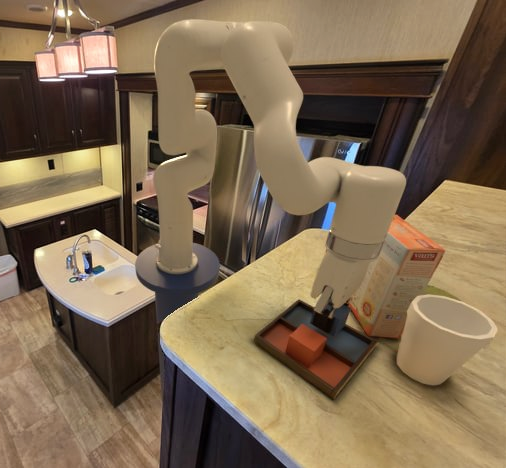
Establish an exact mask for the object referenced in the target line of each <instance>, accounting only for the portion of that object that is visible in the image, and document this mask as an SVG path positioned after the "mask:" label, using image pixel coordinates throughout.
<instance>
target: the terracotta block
mask: <svg viewBox="0 0 506 468" xmlns="http://www.w3.org/2000/svg"><path fill="white" fill-rule="evenodd" d="M326 340H327V338H326V337H324V336H322V335H320V334H319V333H317V332H315V331H314V330H312V329H310V328H309V327H307V326H305V325H303V324H302V325H301V326H300V327H299V328H297V329H296V330H295V331H294V332H293V333H292V334H291V335H290V336H289V340H288V343H287V347H286V351H285V352H286V353H287V354H289V355H290V356H292V357H293V358H295V359H296V360H298V361H299V362H300V363H302V364H303V365H305V366H306V367H308V368H310V367H311V366H312V364H313V363H314V362H315V361H316V360H317V359H318V358H319V357H320V356H321V355H322V352H323V349H324V346H325V343H326Z"/></svg>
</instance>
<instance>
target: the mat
mask: <svg viewBox="0 0 506 468" xmlns="http://www.w3.org/2000/svg"><path fill="white" fill-rule="evenodd" d="M427 294H430V295H438V296H445V297H448V298H452V299H455V300H458V301H461V299H460V298H459V297H457V296H456V295H453V294H452V293H450V292H448V291H446V290H444V289H442V288H439V287H436V286H434V285H430V284H428V285H427V287H426V289H425V291H424V293H423V295H427Z"/></svg>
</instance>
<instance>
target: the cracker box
mask: <svg viewBox="0 0 506 468" xmlns="http://www.w3.org/2000/svg"><path fill="white" fill-rule="evenodd" d="M446 251H447V250H446V249H445V248H443V247H442V246H441V245H440V244H438V243H436V242H435V241H434V240H432V239H431V238H429V236H427V235H426V234H424V233H423V232H421V231H420V230H418V229H417V228H416V227H414V226H413V225H411V224H410V223H409V222H407V221H406V220H405V219H403V218H402V217H400V216H399V215H398V214H395V215H394V218H393V220H392V223H391V225H390V228H389V231H388V233H387V236H386V239H385V241H384V244H383V247H382V249H381V252H380V254H379V257H378V258H377V259H376V260H375V261H371V262H370V263H369V266H368V269H367V272H366V274H365V277H364V280H363V282H362V284H361V286H360V288H359V289H358V290H357V291H356V292H355V293H354V294H353V295H352V296H351V299H350V301H349V303H347V302H346V303H347V304H349V305H348V307H349V308H351V310H350V311H352V313H353V314H354V317H355V318H356V320H357V321H358V323H359V324H360V325H361V327H362V329H363V331H364V332H365V333H366V335H367V336H369V337H377V338H387V339H388V338H389V339H397V340H398V339H401V337H402V334H403V330H404V327H405V323H406V319H407V310H408V308H409V306H410V304H411V302H412V301H413V300H414V299H415V298H416V297H417V296H421V295H423V293H424V291H425V289H426V287H427V285H429V284H430V281H431V279H432V278H433V276H434V274H435V272H436V271H437V268H438V267H439V265H440V263H441V261H442V259H443V258H444V255H445V254H446Z"/></svg>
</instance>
